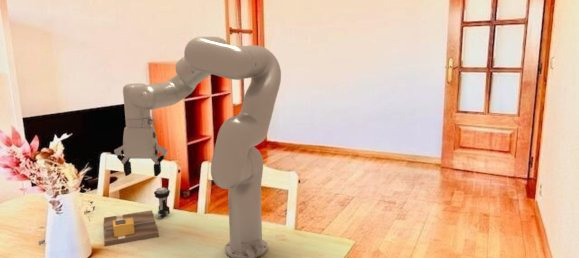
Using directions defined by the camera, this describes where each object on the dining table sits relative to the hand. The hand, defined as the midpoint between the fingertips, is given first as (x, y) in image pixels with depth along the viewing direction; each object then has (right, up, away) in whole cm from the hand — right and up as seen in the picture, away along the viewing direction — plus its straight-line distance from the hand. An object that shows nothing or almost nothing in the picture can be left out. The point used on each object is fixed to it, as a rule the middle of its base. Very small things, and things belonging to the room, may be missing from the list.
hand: (142, 174), depth 141 cm
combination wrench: (-29, -17, +13) cm, 36 cm away
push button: (+2, -17, +14) cm, 22 cm away
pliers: (-27, -20, +1) cm, 34 cm away
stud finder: (-5, -18, -2) cm, 19 cm away
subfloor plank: (-6, -19, +4) cm, 20 cm away
